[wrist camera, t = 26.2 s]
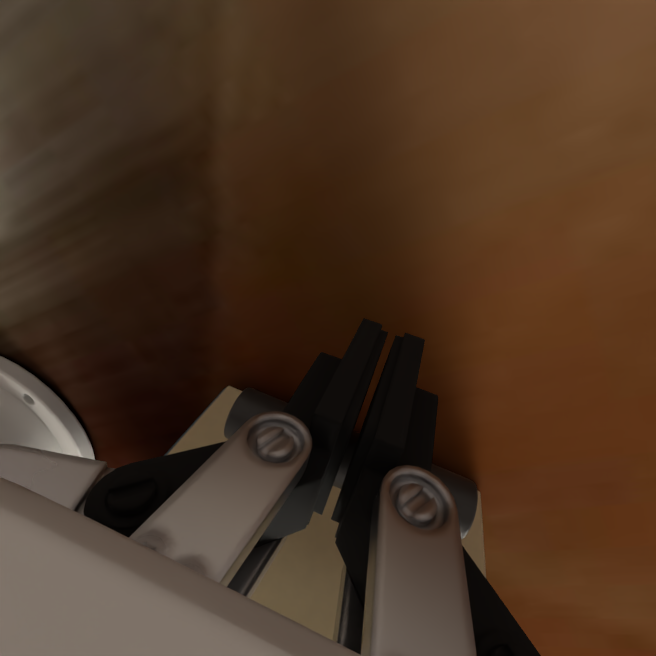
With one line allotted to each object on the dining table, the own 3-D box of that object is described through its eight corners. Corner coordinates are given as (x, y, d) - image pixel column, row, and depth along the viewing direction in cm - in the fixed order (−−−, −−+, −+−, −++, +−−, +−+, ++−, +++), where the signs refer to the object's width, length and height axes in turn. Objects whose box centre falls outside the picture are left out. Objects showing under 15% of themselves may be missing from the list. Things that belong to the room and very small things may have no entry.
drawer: (240, 294, 15) (32, 455, 8) (544, 411, 13) (651, 756, 6) (206, 547, 26) (105, 715, 18) (372, 628, 24) (336, 848, 17)
